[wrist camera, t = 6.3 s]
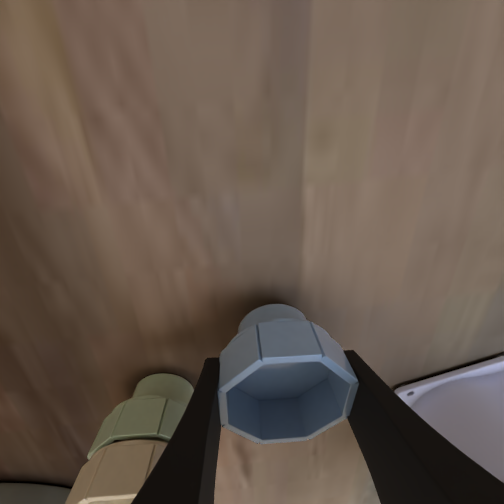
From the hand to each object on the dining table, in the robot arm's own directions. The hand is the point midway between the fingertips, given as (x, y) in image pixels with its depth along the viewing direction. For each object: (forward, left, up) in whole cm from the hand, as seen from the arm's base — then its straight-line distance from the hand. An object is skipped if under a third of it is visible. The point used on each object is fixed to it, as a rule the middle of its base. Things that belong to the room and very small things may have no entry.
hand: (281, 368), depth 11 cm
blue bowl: (0, 0, -2) cm, 2 cm away
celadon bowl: (+9, +3, -3) cm, 10 cm away
